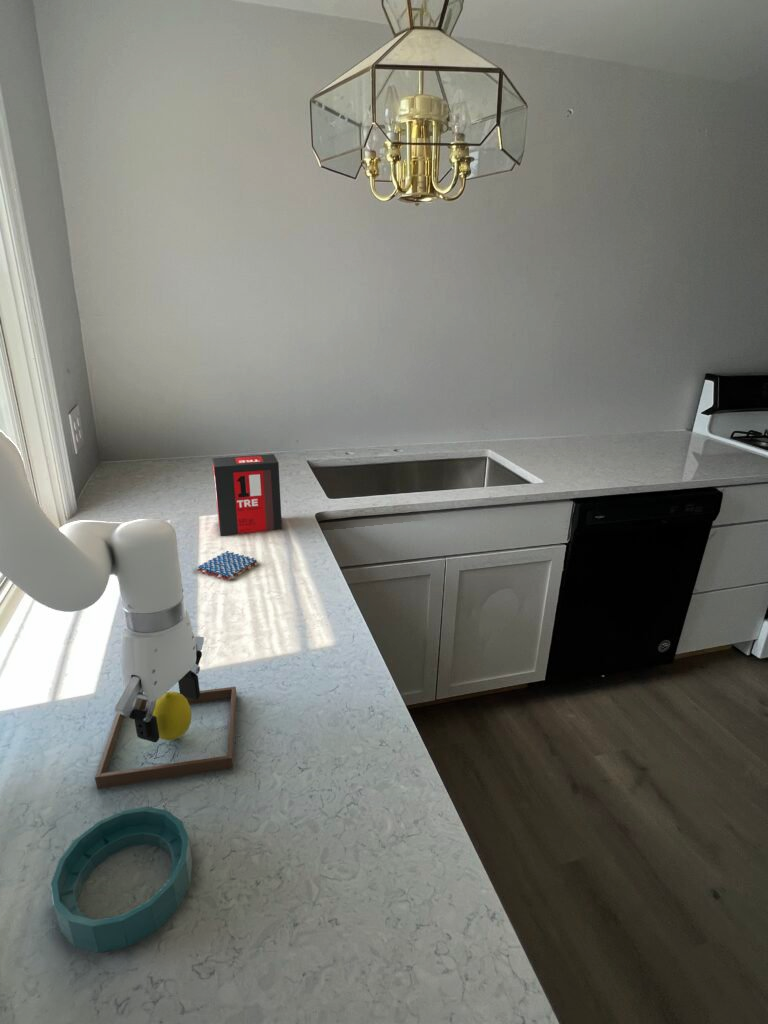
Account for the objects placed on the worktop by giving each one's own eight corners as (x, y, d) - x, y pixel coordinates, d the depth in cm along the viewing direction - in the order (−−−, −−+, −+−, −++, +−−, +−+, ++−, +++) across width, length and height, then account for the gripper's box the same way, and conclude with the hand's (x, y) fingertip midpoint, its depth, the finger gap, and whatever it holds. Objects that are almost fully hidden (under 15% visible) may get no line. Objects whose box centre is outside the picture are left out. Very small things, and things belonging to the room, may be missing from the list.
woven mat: (194, 574, 130) (194, 566, 130) (226, 557, 139) (225, 549, 138) (229, 584, 126) (228, 576, 125) (259, 566, 135) (258, 558, 134)
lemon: (145, 746, 80) (137, 701, 77) (171, 720, 84) (165, 677, 82) (177, 756, 78) (170, 710, 75) (202, 730, 83) (196, 686, 80)
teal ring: (41, 969, 54) (31, 938, 52) (80, 845, 66) (73, 817, 64) (184, 939, 56) (179, 909, 55) (197, 826, 68) (193, 799, 67)
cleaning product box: (220, 538, 150) (213, 466, 143) (219, 526, 158) (212, 458, 151) (282, 531, 155) (278, 462, 148) (277, 520, 163) (273, 454, 156)
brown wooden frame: (97, 792, 73) (94, 777, 72) (123, 713, 87) (120, 700, 86) (233, 772, 76) (231, 757, 75) (237, 699, 90) (235, 686, 89)
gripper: (173, 578, 82) (186, 675, 89) (80, 641, 67) (103, 753, 73) (217, 586, 80) (227, 685, 86) (131, 653, 65) (151, 768, 71)
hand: (170, 716), depth 80 cm, fingers open, 8 cm apart
